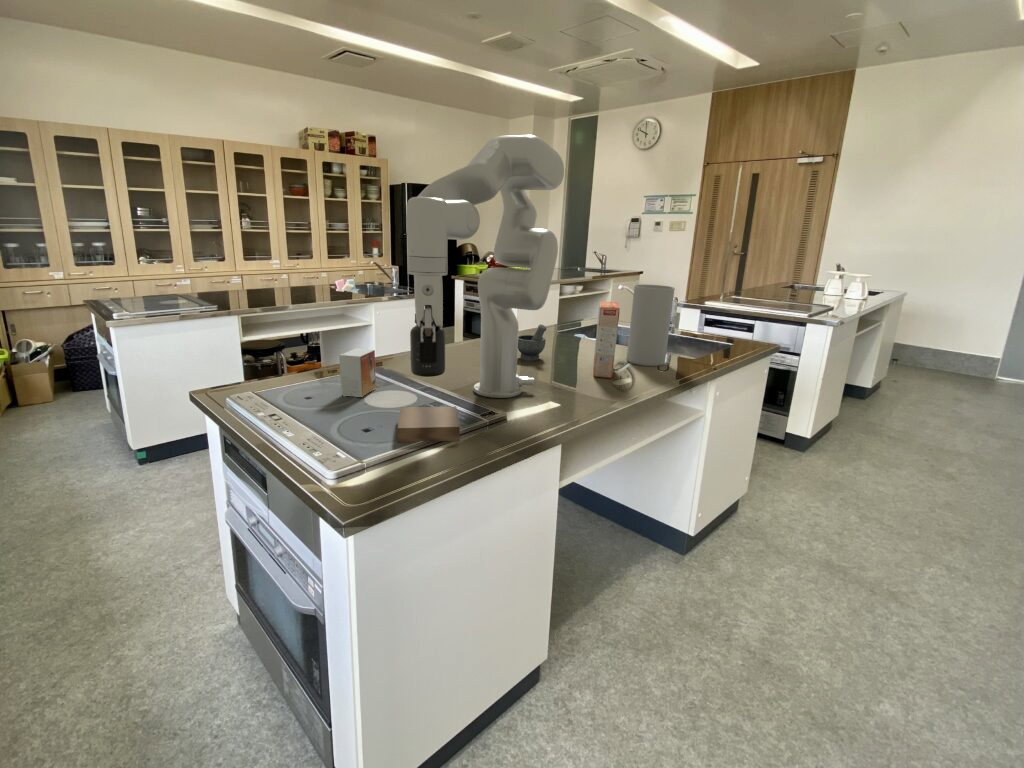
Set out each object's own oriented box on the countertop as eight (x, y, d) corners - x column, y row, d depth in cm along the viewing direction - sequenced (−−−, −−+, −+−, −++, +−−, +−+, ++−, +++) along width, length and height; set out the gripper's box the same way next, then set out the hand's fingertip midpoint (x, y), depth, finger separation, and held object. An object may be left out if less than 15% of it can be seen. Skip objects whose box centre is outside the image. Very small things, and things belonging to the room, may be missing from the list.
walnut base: (456, 419, 114) (456, 406, 113) (459, 440, 102) (459, 426, 101) (400, 420, 112) (400, 407, 111) (397, 442, 100) (397, 428, 99)
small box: (362, 398, 124) (360, 356, 121) (340, 396, 125) (338, 354, 122) (376, 389, 132) (375, 349, 129) (356, 387, 133) (354, 347, 130)
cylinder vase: (627, 365, 166) (636, 287, 159) (625, 356, 178) (632, 283, 171) (667, 368, 165) (677, 289, 158) (661, 359, 177) (671, 285, 170)
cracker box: (613, 379, 150) (620, 307, 144) (592, 377, 151) (598, 306, 145) (612, 367, 163) (618, 301, 157) (593, 365, 164) (598, 300, 158)
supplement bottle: (412, 368, 106) (411, 310, 103) (445, 368, 107) (446, 311, 103) (408, 377, 100) (408, 315, 96) (444, 377, 100) (444, 316, 97)
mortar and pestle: (509, 357, 171) (510, 321, 168) (529, 353, 177) (531, 318, 174) (532, 364, 163) (534, 326, 160) (553, 360, 169) (555, 324, 166)
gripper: (449, 270, 90) (448, 369, 95) (445, 264, 106) (445, 348, 111) (405, 269, 88) (407, 369, 94) (408, 262, 105) (409, 348, 110)
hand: (427, 357), depth 102 cm, fingers closed on supplement bottle, 6 cm apart
